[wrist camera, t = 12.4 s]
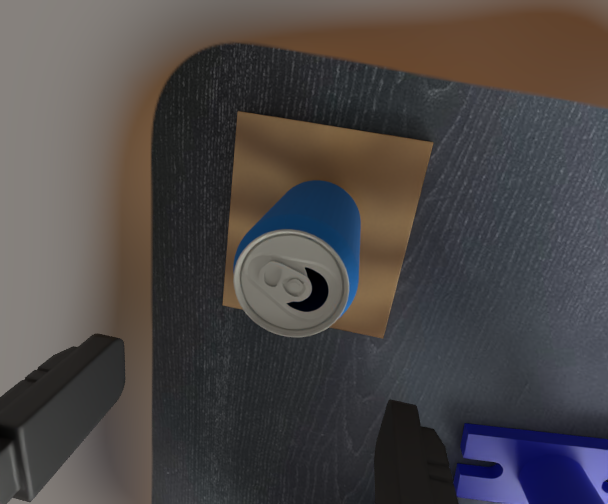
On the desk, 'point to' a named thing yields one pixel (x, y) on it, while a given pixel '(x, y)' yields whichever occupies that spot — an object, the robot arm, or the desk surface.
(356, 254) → the beverage can
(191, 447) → the desk surface
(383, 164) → the cork mat
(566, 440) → the mount
